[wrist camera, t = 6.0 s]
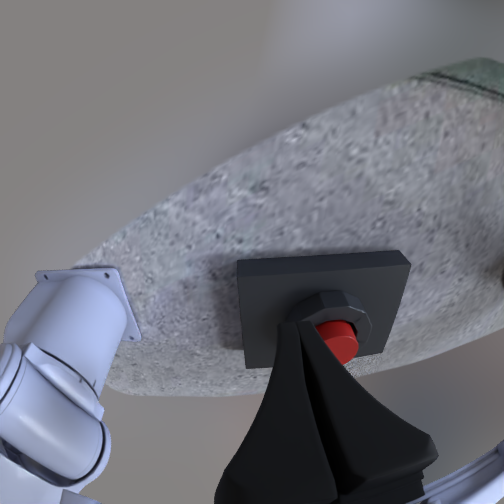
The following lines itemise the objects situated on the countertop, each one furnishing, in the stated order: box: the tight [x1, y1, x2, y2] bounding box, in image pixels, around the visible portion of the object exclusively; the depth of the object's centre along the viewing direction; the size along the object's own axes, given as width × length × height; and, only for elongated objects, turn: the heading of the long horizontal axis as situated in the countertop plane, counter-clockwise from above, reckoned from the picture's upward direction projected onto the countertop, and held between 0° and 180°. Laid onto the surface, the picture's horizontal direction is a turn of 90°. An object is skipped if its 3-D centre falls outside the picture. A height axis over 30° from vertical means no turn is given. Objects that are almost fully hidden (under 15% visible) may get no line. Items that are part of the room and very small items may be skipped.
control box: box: [237, 250, 411, 369], centre depth 21 cm, size 13×10×4 cm
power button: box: [315, 320, 358, 365], centre depth 19 cm, size 4×4×2 cm
